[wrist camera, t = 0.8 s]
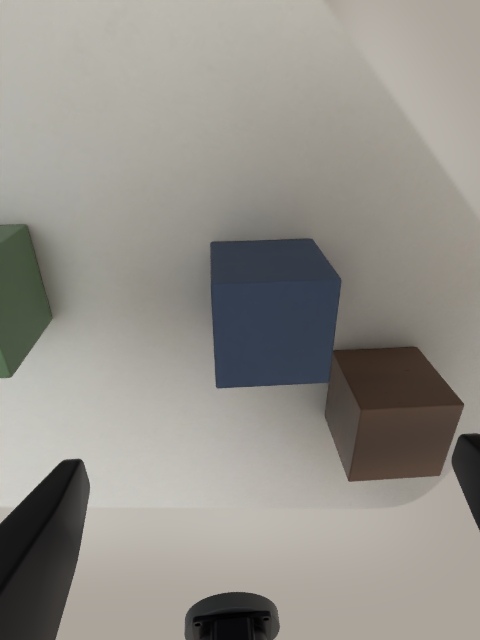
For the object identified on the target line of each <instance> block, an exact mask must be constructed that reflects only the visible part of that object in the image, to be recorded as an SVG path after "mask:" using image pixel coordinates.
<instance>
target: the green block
mask: <svg viewBox="0 0 480 640" xmlns="http://www.w3.org/2000/svg"><path fill="white" fill-rule="evenodd" d="M51 320H52V315H51V312H50V308H49V305H48V301H47V297H46V294H45V290H44V287H43V283H42V279H41V276H40V272H39V268H38V265H37V261H36V258H35V254H34V250H33V247H32V243H31V239H30V236H29V232H28V229H27V226H26V225H0V378H10V377H12V376H13V374H14V373H15V372H16V370H17V369H18V367H19V366H20V365H21V363H22V362H23V360H24V359H25V357H26V356H27V355H28V353H29V352H30V350H31V349H32V347H33V346H34V345H35V343H36V342H37V340H38V339H39V338H40V336H41V335H42V333H43V332H44V330H45V329H46V328H47V326H48V325H49V323H50V322H51Z"/></svg>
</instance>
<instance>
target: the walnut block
mask: <svg viewBox="0 0 480 640" xmlns="http://www.w3.org/2000/svg"><path fill="white" fill-rule="evenodd" d="M463 407H464V403H463V402H462V401H461V400H460V398H459V397H458V396H457V395H456V394H455V392H454V391H453V390H452V389H451V388H450V386H449V385H448V384H447V383H446V382H445V380H444V379H443V378H442V377H441V376H440V374H439V373H438V372H437V371H436V369H435V368H434V367H433V366H432V365H431V363H430V362H429V361H428V360H427V359H426V357H425V356H424V355H423V354H422V353H421V351H420V350H419V349H418V348H417V347H409V348H388V349H367V350H346V351H333V354H332V362H331V370H330V378H329V387H328V395H327V403H326V411H325V418H326V421H327V423H328V426H329V429H330V432H331V435H332V437H333V440H334V443H335V446H336V448H337V451H338V454H339V457H340V459H341V462H342V465H343V468H344V471H345V473H346V476H347V479H348V481H349V482H352V481H367V480H383V479H398V478H414V477H429V476H440V474H441V471H442V468H443V465H444V462H445V460H446V457H447V454H448V451H449V448H450V445H451V442H452V439H453V436H454V433H455V430H456V428H457V425H458V422H459V419H460V416H461V413H462V410H463Z"/></svg>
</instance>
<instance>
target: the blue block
mask: <svg viewBox="0 0 480 640" xmlns="http://www.w3.org/2000/svg"><path fill="white" fill-rule="evenodd" d="M210 247H211V299H212V319H213V338H214V358H215V377H216V387H217V388H234V387H253V386H273V385H292V384H312V383H328V382H329V377H330V369H331V361H332V353H333V344H334V336H335V328H336V320H337V312H338V304H339V296H340V287H341V278H340V277H339V276H338V274H337V273H336V271H335V270H334V269H333V267H332V266H331V264H330V263H329V262H328V260H327V259H326V257H325V256H324V255H323V253H322V252H321V250H320V249H319V248H318V246H317V245H316V244H315V242H314V241H313V239H295V240H264V241H233V242H211V244H210Z"/></svg>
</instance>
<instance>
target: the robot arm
mask: <svg viewBox="0 0 480 640" xmlns="http://www.w3.org/2000/svg"><path fill="white" fill-rule="evenodd" d="M452 467H453V469H454V472H455V474H456V476H457V479H458V481H459V484H460V486H461V488H462V491H463V493H464V496H465V498H466V500H467V503H468V505H469V507H470V510H471V512H472V514H473V517H474V519H475V522H476V524H477V526H478V528H479V530H480V434H477V433H473V434H462V435H460V436H459V438H458V440H457V443H456V446H455V449H454V452H453V455H452ZM89 493H90V483H89V479H88V476H87V472H86V469H85V465H84V463H83V461H82V460H81V459H67V460H63V461H62V462H61V463H59V464H58V465H57V466H56V468H55V469H54V470H53V471H52V472H51V473H50V474H49V475H48V476H47V477H46V478H45V479H44V480H43V481H42V482H41V483H40V484H39V485H38V486H37V487H36V488H35V489H34V490H33V491H32V492H31V493H30V494H29V495H28V496H27V497H26V498H25V499H24V500H23V501H22V502H21V503H20V504H19V505H18V506H17V507H16V508H15V509H14V510H13V511H12V512H11V513H10V514H9V515H8V516H7V518H5V519H4V520H3V521H2V522H1V523H0V640H55V639H56V635H57V632H58V628H59V625H60V621H61V618H62V614H63V611H64V607H65V604H66V600H67V597H68V593H69V589H70V586H71V582H72V579H73V576H74V572H75V568H76V564H77V561H78V555H79V550H80V545H81V539H82V533H83V527H84V522H85V516H86V510H87V504H88V499H89ZM271 629H272V614H271V612H270V611H267V610H265V611H253V612H240V613H228V614H216V615H203V616H195V617H193V618H192V632H193V639H194V640H271Z"/></svg>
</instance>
